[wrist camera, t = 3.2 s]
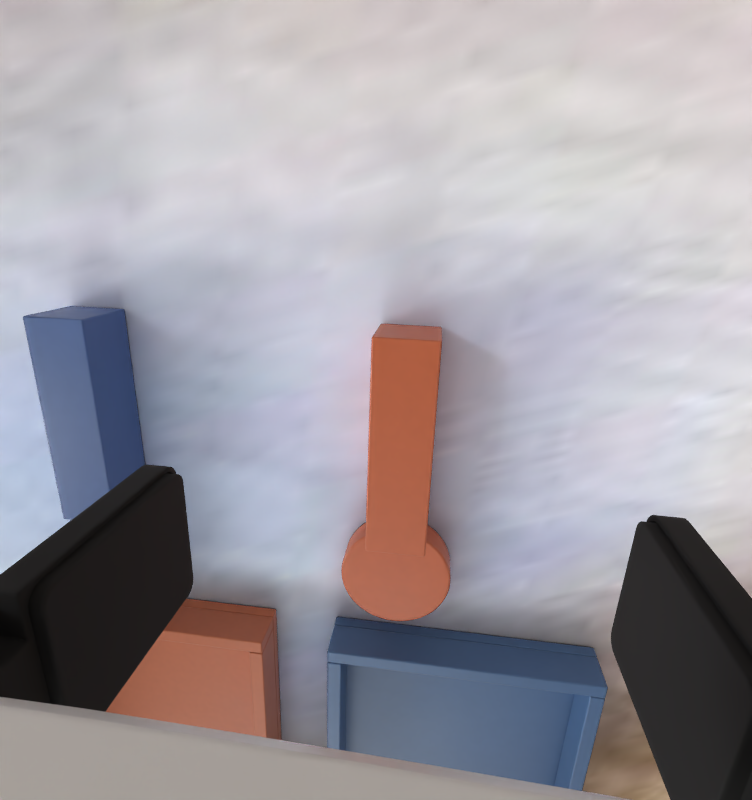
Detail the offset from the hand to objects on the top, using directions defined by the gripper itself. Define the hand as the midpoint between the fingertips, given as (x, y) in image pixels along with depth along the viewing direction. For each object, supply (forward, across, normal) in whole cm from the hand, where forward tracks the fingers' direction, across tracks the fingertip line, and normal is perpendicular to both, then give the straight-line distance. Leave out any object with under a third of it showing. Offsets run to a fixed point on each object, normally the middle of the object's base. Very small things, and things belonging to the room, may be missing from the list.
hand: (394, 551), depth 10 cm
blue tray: (+9, -2, +19) cm, 21 cm away
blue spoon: (+9, +12, +3) cm, 16 cm away
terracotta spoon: (+9, 0, +3) cm, 10 cm away
